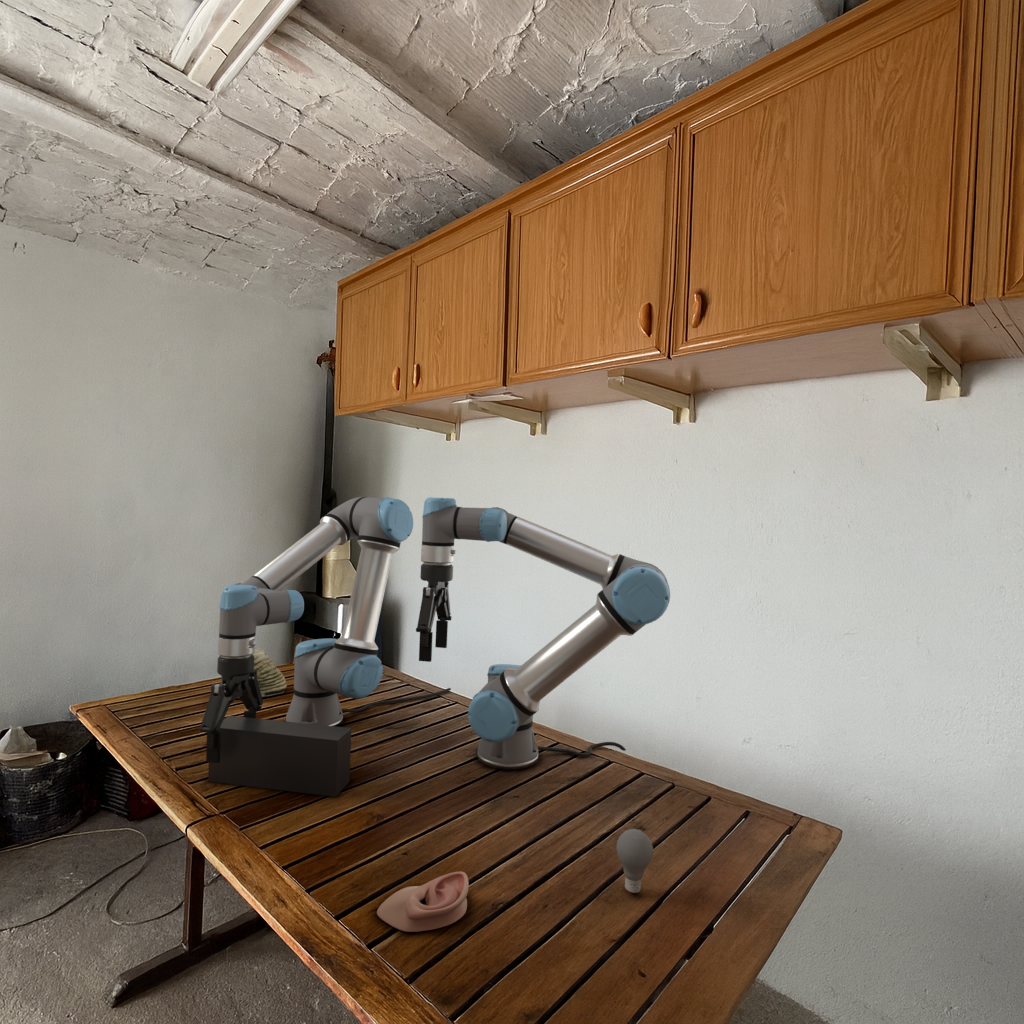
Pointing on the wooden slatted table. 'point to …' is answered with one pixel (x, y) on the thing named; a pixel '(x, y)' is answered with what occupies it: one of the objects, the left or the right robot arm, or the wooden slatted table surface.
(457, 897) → the anatomical model
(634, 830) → the light bulb
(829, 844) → the wooden slatted table surface
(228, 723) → the box
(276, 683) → the fossil
